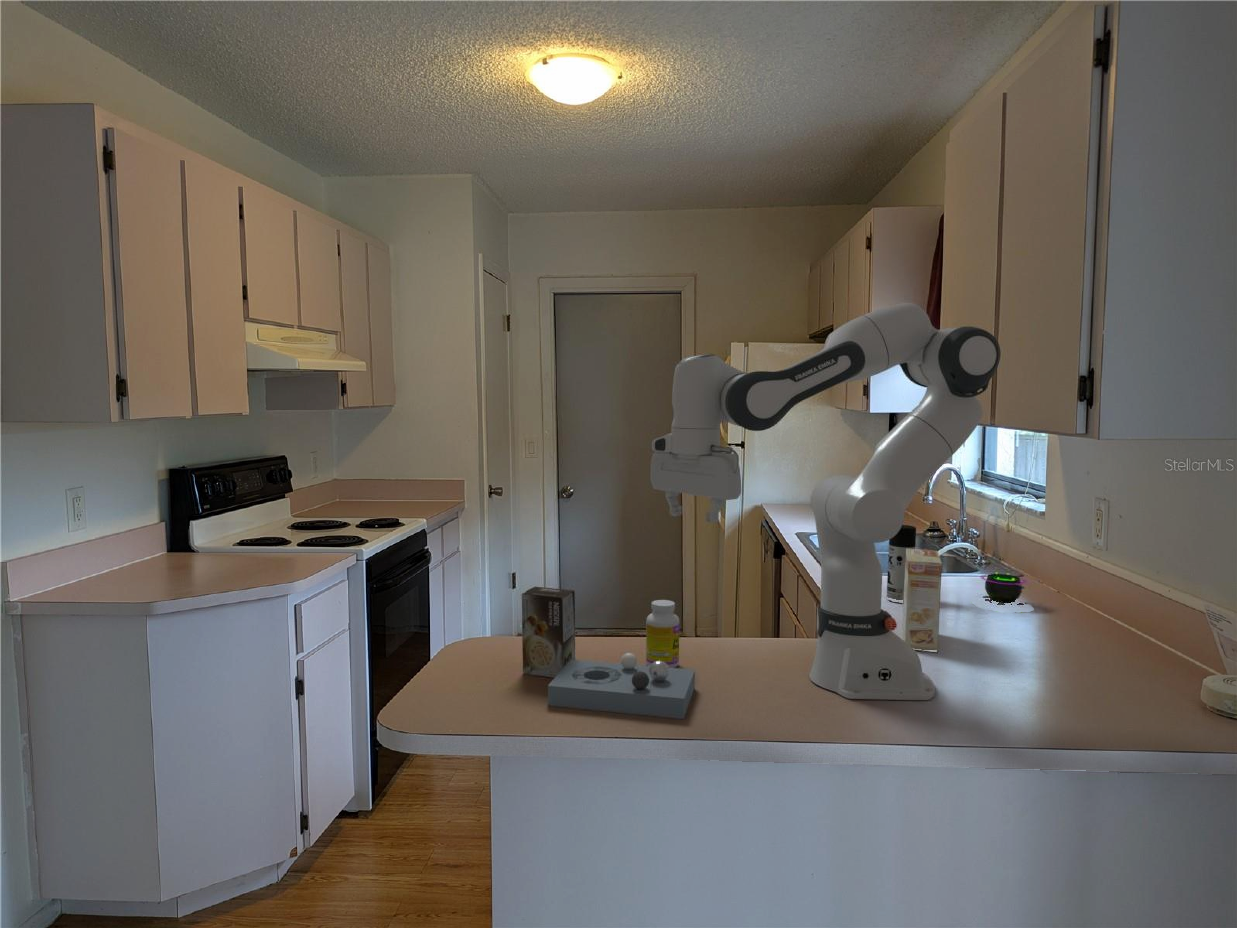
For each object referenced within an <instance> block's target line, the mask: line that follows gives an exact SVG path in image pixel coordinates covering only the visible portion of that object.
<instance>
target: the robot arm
mask: <svg viewBox="0 0 1237 928" xmlns="http://www.w3.org/2000/svg"><path fill="white" fill-rule="evenodd" d="M823 345H824V346H823V349H821V350H820V351H819V352H817V353H815V354H814V355H811V356H810V357H807V358H805V359H803V360H801V361H798V362H796V363H794V364H792V365H789V366H788V367H785V368H782V369H780V370H776V371H768V370H767V371H766V370H765V371H763V370H758V371H757V370H755V371H751V372H748V373H747V372H746V371H743V370H740V369H738V368H736V367H734V366H732V365H731V364H728V363H727V362H725V361H724V360H723V359H721V358H720V357H719V356H718V355H716V354H714V353H707V354H700V355H695V356H689V357H684V358H683V359H682V360H680V361H679V362H678V363H677V364H676V366H675V368H674V374H673V381H672V391H671V392H672V395H671V406H672V409H673V419H672V423H671V429H670V430H671V433H667V434H666V435H665V434H664V435H663V436H661V437H657V438H655V439H653V440H652V442H651V449H652V451H653V452H654V453H653V454H652V456H651V460H650V484H651V486H652V487H653V489H654V490H659V491H665V499H666V502H667V503H668V506H669V515H670V516H674V517H679V516H680V517H681V516H682V510H683V509H682V508H683V506H681V505H680V504H679V501H678V498H677V497H679V494H685V495H692V496H698V497H705V498H710V501H709V503H710V504H711V507H710V510H709V511H707V512H705V517H706V518H705V522H706V523H711V524H716V523H718V522H719V517H720V515H719V513H720V512H721V511H722V508H723V507H724V505H725V501H731V500H738V499H739V497H740V496H741V494H742V476H741V468H740V464H739V463H740V457H739V454H738V453H737V451H735V450H734V448H733V447H731V446H721V445H720V444H721V443H720V441H721V440H720V439H721V438H720V437H721V424H723V422H725V423H726V422H727V423H729V424H731V425H734V426H739V427H741V428H743V429H745V430H747V431H751V432H752V431H753V432H761V431H766V430H769V429H770V428H772V427H775V426H776V425H777V424H779V422H780V421H782V419H783V418H784V417H785V416H786V415H787V414H788V413H789V411H790V410H791V409H793V408H794V407H795V406H797V405H798V404H799V403H801V402H803V401H806V400H807V399H810V398H812V397H814V396H816V395H818V394H819V393H821V392H823V391H826V390H828V389H830V388H833V387H835V386H836V385H841V384H843V383H844V384H846V383H847V384H848V383H852V382H857V381H861V380H864V379H868V378H870V377H874V376H875V375H879V374H881V373H883V372H886V371H888V370H889V369H892V368H894V367H896V366H900V369H901V371H902V372H903V374H904V375H905V376H906V377H907V379H908V380H909V381H910V382H912V383H913V384H915V385H917V386H920V387H922V388H926V390H925V393H924V395H923V397H922V399H921V400H920V402H919V404H918V405H917V406H916V407H914V408H913V409H912V410H911V411H910V412H909V413H908V414H906V416H904V417H903V418H902V419H901V420H900V421H898V423H897V424H896V425H895V426H894V427H892V429H891V430H890V431H889V432H887V434H885V435H884V436H883V437H882V438H881V439H880V440H879V441H878V443H877V444H876V445H875V448H874V453H873V454H872V456H871V457H870V460H869V461H868V462H867V464H866V465H865V467H864V468H863V469H862V471H861V472H860V473H859V474H858V475H856V476H855V477H854V476H851V475H849V474H848V475H846V474H837V475H833V476H832V475H831V476H828V477H825V478H823V479H821V480H820V481H818V483H817V484H815V486H814V488H813V489H812V491H811V495H810V507H811V509H812V512H813V516H814V521H815V529H816V536H817V544H818V549H819V558H820V571H821V572H820V573H821V574H820V575H821V576H820V603H819V604H818V606H817V612H816V613H817V614H816V633H817V635H818V637H817V644H816V650H815V655H814V660H813V662H812V666H811V669H810V673H809V679H810V681H812V682H813V684H815V685H817V686H819V687H821V688H823V689H826V690H829V691H832V692H834V693H837V694H839V695H840V696H842V697H844V698H846V699H850V700H851V699H852V700H893V701H894V700H895V701H896V700H897V701H901V700H902V701H930V700H932V699H933V698H934V696H935V694H936V691H935V690H936V688H935V683H934V681H933V680H932V678H931V677H930V676H928V674H926V673H925V672H923V667H922V663H921V660H920V657H919V655H918V653H917V652H916V650H914V649H913V648H912V647H911V646H910V645H908V644H907V643H906V642H905V641H903V638H901V637H900V636H898V635H897V634H896V633H895V632H894V631H895V630H896V629H897V627H898V625H897V623H898V622H897V621H896V619H895V618H894V617H892V615H891V614H890V613H889V612H888V611H887V610H886V609H885V610H883V609H882V594H883V593H882V592H883V591H882V590H883V589H882V588H883V568H882V566H881V563H880V561H879V560H880V559H879V558H878V554H877V550H876V545H875V544H878V543H879V544H880V543H885V542H887V541H889V539H891V538H893V537H894V536H895V535H896V534H897V533H898V532H899V530H900V529H901V527H902V525H904V520H905V511H906V510H907V508H908V507H909V505H910V503H911V502H912V500H913V498H914V497H915V496H916V494H917V492H918V491H919V490H920V489H921V487H922V486H923V485H924V484H925V483H926V482H927V481H928V480H929V479H930V478H931V477H932V475H934V474H935V473H936V472H937V471H938V470H939V469H940V468H941V467H942V466H944V464H945V463H946V462H947V461H948V460H949V459H950V458H952V456H953V455H955V453H956V452H957V451H958V450H959V449H960V448H961V447H962V446H963V445H964V444H965V442H966V441H967V440H969V438H970V436H971V435H972V433H973V432H974V431H975V430H976V428H977V427H978V425H979V424H980V423H981V420H982V418H983V406H982V404H981V402H980V400H979V399H978V397H977V396H980V395H981V394H983V393H984V392H985V391H986V390H987V389H988V386H989V383H990V380H991V379H992V377H993V376H994V375H995V373H996V371H997V369H998V367H999V364H1000V361H1001V348H1000V344H999V342H998V339H997V338H996V337H995V336H994V335H993V334H992V333H990V332H989V331H987V330H985V329H982V328H980V327H976V326H970V325H969V326H967V325H966V326H960V327H947V328H942V329H937V328H935V326H933V325H932V323H931V319H930V317H929V315H928V313H927V311H925V310H924V308H922V307H921V306H920V305H917V304H916V303H914V302H901V303H896V304H892V305H888V306H885V307H882V308H879V309H875V310H872V311H871V312H867V313H866V314H863V315H860V316H858V317H856V318H854V319H851V320H849V321H848V322H846V323H844V324H843V325H841V326H839V327H838V328H836V329H835V330H833V331H832V332H830V333H829V334H828V336H827V337H826V339H825V342H824V344H823Z"/></svg>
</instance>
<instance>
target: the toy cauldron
mask: <svg viewBox="0 0 1237 928" xmlns="http://www.w3.org/2000/svg"><path fill="white" fill-rule="evenodd" d="M995 565H997V562H995ZM991 568H994V566H992V567H988V568H987V570H988V571H990V569H991ZM1002 568H1004V569H1005V567H1004V566H1003V567H1002ZM996 569H998V567H995V570H996ZM1009 569H1012V568H1009ZM1017 571H1019V572H1017V573H1015V574H1016V575H1013V574H1010V573H1008V572H1007V573H1005V572H1004V573H999V572H997V571H995V573H991V574H982V575H980V576H979V578H980V579H981V580H983V581H984V589H985V591H986V592H985V593H986V594H987V595H984V596H982V597H983V598H990V600H989V599H985V601H989V602H990V603H992V602H991V601H992V600H993V601H996V602H999V603H998V604H997V605H1005V604H1004V603H1011V602H1015V600H1016V599H1017V600H1018V599H1019V598H1020V596H1021V595H1022V592H1023V590H1025V589H1026V587H1025V586H1024V585H1027V583H1029V581H1028V579H1024V578H1023V577H1019V576H1017V575H1019V574H1020V570H1018V569H1017ZM991 572H994V571H993V570H991ZM985 577H986V578H985ZM1021 580H1022V582H1021ZM1011 605H1012V604H1011ZM1017 605H1024V604H1023V603H1019V604H1017Z"/></svg>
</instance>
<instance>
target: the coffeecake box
mask: <svg viewBox="0 0 1237 928" xmlns="http://www.w3.org/2000/svg"><path fill="white" fill-rule="evenodd" d="M941 559H942V558H941V557H940V554H939V551H938V550H933V549H923V548H921V549H919V548H915V549H906V560H905V579H904V601H903V604H902V606H903V608H902V629H901V630H903V632H902V640H903V641H905V642H906V643H907V644H908V645H910V646H911V647H912V648H914V649H921V650H938V651H939V631H940V628H939V627H940V614H941V613H940V610H941V609H940V608H941V590H942V589H941V588H942V573H943V572H942V569H943V568H942V567H943V563H942V560H941Z"/></svg>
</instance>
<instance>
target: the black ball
mask: <svg viewBox="0 0 1237 928" xmlns="http://www.w3.org/2000/svg"><path fill="white" fill-rule="evenodd" d="M632 684H633V686H634V687H635V688H637V689H644V688H646V687H647V686H648V684H649V677H648V675H647V674H646V673H644V672H642V671H639V672H636V673H635V674H634V675H633V677H632Z"/></svg>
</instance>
